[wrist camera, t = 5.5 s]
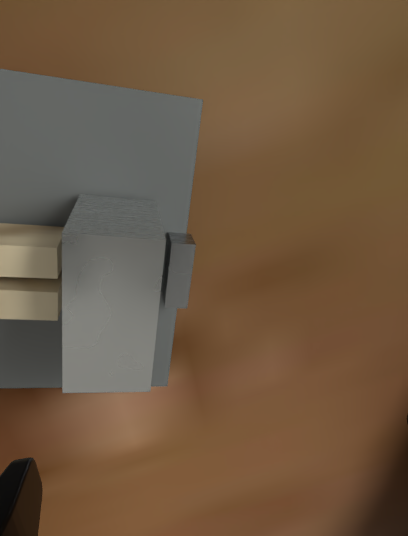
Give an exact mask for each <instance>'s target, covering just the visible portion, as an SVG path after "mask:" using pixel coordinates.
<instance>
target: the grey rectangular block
mask: <svg viewBox="0 0 408 536" xmlns="http://www.w3.org/2000/svg"><path fill="white" fill-rule="evenodd" d="M165 245H166V238H165V234H164V231H163V227H162V223H161V219H160V216H159V212H158V208H157V204H156V201H148V200H137V199H126V198H115V197H104V196H93V195H83V194H80V196H79V198H78V200H77V202H76V204H75V206H74V208H73V210H72V212H71V215H70V217H69V219H68V221H67V223H66V225H65V227H64V229H63V231H62V390H63V393H97V392H150V389H151V379H152V370H153V360H154V351H155V341H156V332H157V322H158V312H159V303H160V293H161V284H162V274H163V265H164V255H165Z"/></svg>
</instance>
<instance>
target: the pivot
mask: <svg viewBox="0 0 408 536" xmlns="http://www.w3.org/2000/svg"><path fill="white" fill-rule="evenodd" d="M195 246H196V244H195V242H194V240H193V238H192V236H191V234H186V233H172V232H168V241H167V250H166V259H165V269H164V278H163V288H162V296H163V302H164V308H187V305H188V298H189V290H190V283H191V276H192V268H193V261H194V254H195Z"/></svg>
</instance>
